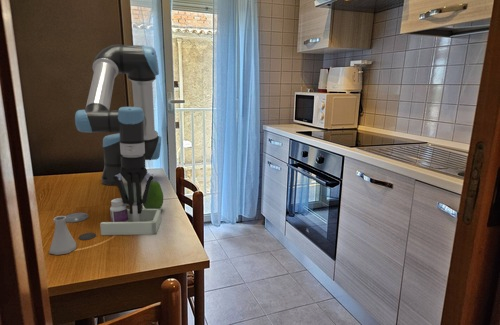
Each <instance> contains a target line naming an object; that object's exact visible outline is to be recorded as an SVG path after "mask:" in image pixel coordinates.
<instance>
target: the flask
mask: <svg viewBox="0 0 500 325" xmlns="http://www.w3.org/2000/svg"><path fill="white" fill-rule="evenodd" d="M66 216H67V215H58V216H56V217H55V216H54V217H53V219H52V220H53V222H54V226H55V227H54V233H53V237H52V242H51V244H50V248H49V251H48V254H50V255H56V256H58V255H64V254H70V253H72V252H73V251H75V250H76V249H77V244H78V243H77V242H76V240H75V239H74V238H73V236H72V234H71V232H70V230H69V228H68V226H67V222H65V220H66Z"/></svg>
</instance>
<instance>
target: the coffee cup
mask: <svg viewBox="0 0 500 325" xmlns="http://www.w3.org/2000/svg"><path fill="white" fill-rule="evenodd" d="M122 181H123V184H124V187H125V190H126V193H127V196H128V186H127V181H126V180H125V179H124V178H123V177H122ZM133 190H134V200H135V201H134V203H137V199H136V185H135V183H133ZM128 199H129V198H128ZM125 205H126V206H127V207H129V204H125Z"/></svg>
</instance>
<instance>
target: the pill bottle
mask: <svg viewBox="0 0 500 325" xmlns="http://www.w3.org/2000/svg"><path fill="white" fill-rule="evenodd" d="M110 203H111V206H110V208H109V212H110V220H111V221H110V222H130V221H128V213H127V209H128V206H126V205H125V204H124V203H123V200H122V197H117V198H114V199H112V200H111V201H110Z"/></svg>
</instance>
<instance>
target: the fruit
mask: <svg viewBox="0 0 500 325" xmlns="http://www.w3.org/2000/svg"><path fill="white" fill-rule="evenodd" d="M143 196H144V192H143V193H142V199H143ZM163 204H164V193H163V190H162V185H161V184H160V183H159V182H158V181H155V180H152V181H151V185H150V189H149V194H148V198H147V201H146V203H143V204H142V207H144V209H162V207H163Z"/></svg>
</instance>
